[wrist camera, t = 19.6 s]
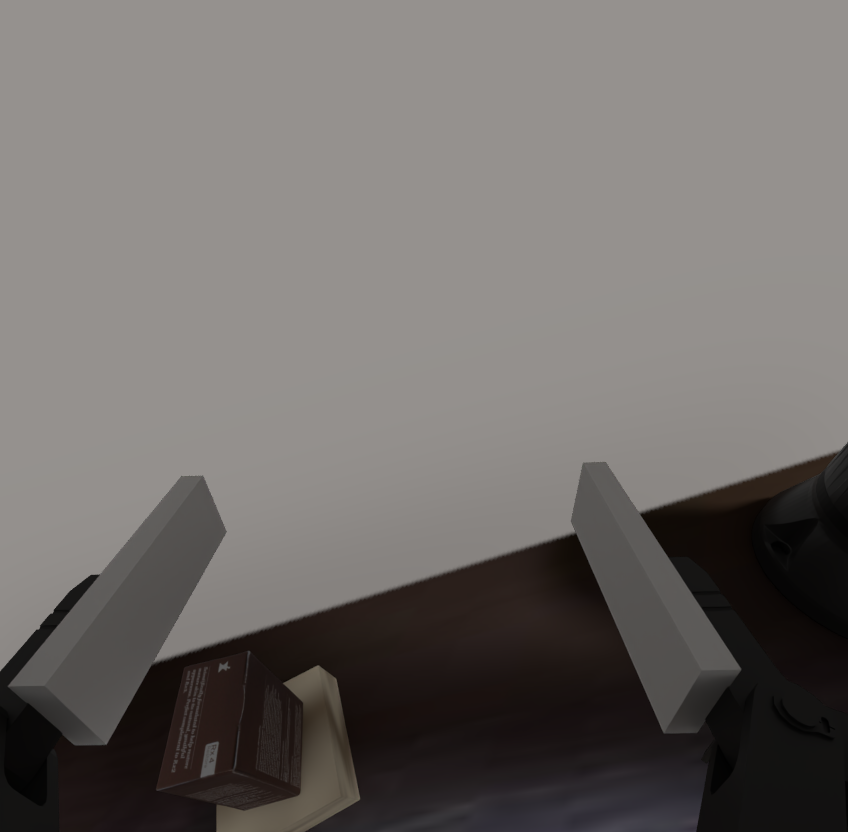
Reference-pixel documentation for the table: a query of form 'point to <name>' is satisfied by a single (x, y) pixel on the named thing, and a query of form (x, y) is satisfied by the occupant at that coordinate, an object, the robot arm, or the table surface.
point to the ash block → (308, 766)
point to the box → (233, 736)
